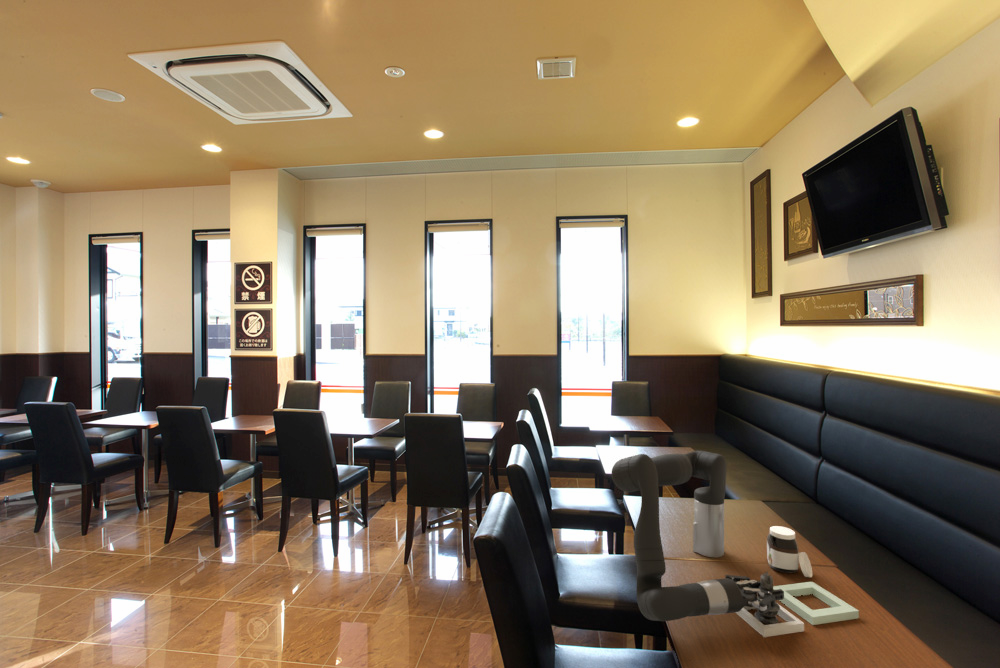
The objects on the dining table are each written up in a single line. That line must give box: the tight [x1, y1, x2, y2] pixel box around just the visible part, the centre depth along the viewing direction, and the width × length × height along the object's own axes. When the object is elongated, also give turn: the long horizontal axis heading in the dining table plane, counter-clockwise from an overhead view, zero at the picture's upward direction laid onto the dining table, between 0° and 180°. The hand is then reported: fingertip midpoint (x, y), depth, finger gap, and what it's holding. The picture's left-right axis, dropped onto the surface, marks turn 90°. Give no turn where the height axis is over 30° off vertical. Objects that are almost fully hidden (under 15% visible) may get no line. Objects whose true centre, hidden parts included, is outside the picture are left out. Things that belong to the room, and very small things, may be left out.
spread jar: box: [766, 525, 813, 578], centre depth 142 cm, size 12×11×12 cm
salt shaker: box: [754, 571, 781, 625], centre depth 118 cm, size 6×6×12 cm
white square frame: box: [734, 602, 805, 638], centre depth 118 cm, size 11×11×2 cm
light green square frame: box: [773, 581, 860, 626], centre depth 124 cm, size 14×14×2 cm
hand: (776, 589), depth 118 cm, fingers closed on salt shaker, 3 cm apart
